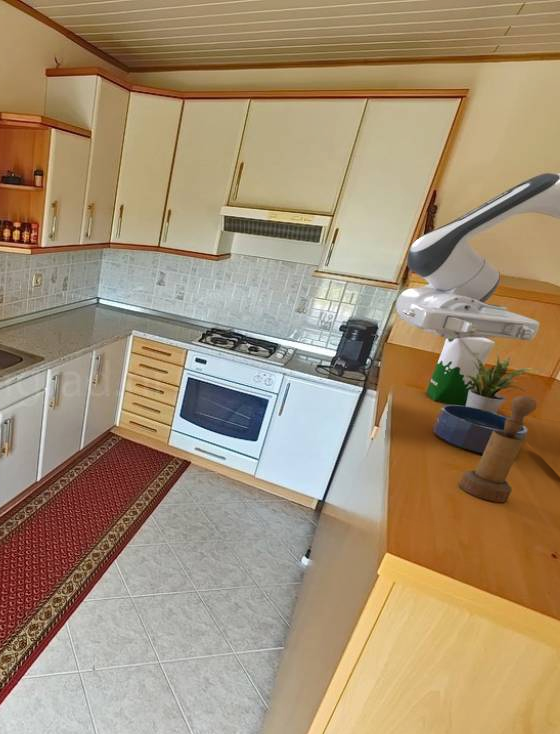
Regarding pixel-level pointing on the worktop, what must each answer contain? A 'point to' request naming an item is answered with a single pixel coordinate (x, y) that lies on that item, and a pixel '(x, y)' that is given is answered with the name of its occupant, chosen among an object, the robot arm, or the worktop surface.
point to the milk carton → (458, 369)
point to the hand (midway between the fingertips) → (500, 331)
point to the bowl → (469, 426)
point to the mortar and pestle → (499, 456)
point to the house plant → (491, 385)
